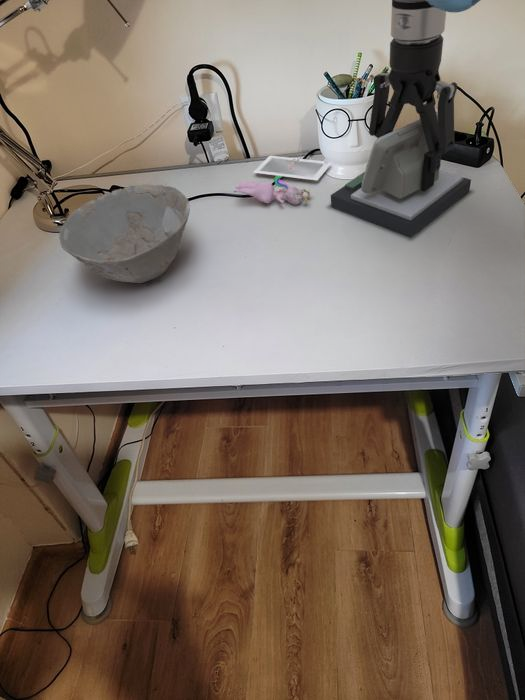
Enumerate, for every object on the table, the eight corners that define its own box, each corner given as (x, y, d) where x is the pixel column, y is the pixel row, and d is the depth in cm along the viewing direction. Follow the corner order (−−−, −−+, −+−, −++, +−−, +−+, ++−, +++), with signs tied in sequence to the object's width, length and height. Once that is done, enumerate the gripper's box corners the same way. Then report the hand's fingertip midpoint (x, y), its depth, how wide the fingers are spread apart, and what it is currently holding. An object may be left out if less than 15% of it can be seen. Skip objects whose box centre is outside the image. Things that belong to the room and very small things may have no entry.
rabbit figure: (310, 199, 102) (238, 189, 104) (313, 171, 98) (237, 161, 100) (305, 216, 98) (230, 205, 100) (307, 188, 94) (229, 177, 96)
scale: (469, 191, 94) (472, 175, 91) (410, 238, 86) (412, 221, 84) (389, 167, 104) (389, 152, 102) (331, 206, 97) (330, 191, 94)
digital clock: (428, 160, 95) (434, 101, 87) (458, 179, 89) (468, 118, 81) (351, 185, 92) (350, 127, 85) (376, 207, 86) (378, 146, 79)
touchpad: (317, 185, 103) (317, 175, 102) (253, 177, 109) (252, 167, 108) (332, 167, 108) (332, 157, 106) (270, 160, 114) (269, 150, 112)
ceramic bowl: (91, 326, 82) (66, 277, 75) (75, 254, 98) (53, 208, 90) (220, 280, 86) (207, 230, 78) (184, 218, 101) (171, 171, 94)
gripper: (345, 37, 78) (348, 175, 95) (466, 53, 67) (446, 207, 83) (375, 23, 82) (373, 159, 98) (497, 35, 70) (471, 188, 86)
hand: (406, 181), depth 90 cm, fingers closed on digital clock, 8 cm apart
